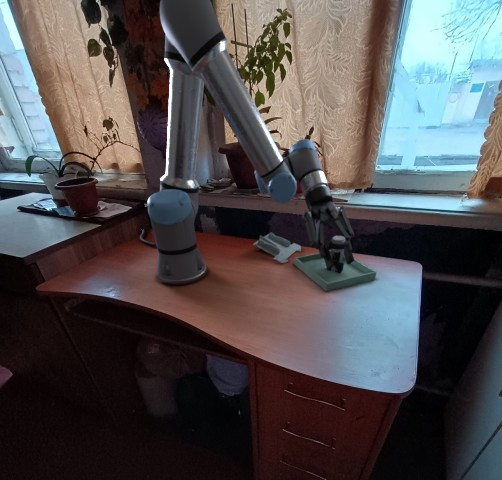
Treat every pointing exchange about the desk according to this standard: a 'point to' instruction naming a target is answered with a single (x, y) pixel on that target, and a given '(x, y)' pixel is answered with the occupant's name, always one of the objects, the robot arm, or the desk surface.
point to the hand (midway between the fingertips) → (340, 264)
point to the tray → (330, 279)
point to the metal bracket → (277, 247)
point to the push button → (337, 253)
